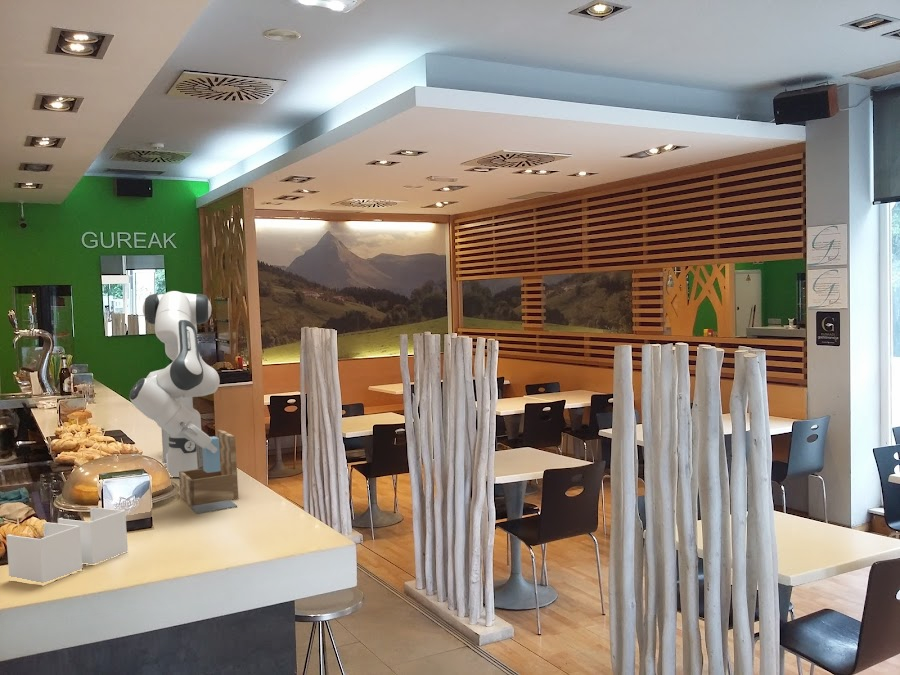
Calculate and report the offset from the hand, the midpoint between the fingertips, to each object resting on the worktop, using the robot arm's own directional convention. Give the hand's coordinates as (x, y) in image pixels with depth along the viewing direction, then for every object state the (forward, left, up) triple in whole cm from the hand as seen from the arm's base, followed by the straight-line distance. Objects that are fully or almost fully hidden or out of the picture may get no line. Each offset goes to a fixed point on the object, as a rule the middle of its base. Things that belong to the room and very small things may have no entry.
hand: (212, 449), depth 246 cm
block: (0, -1, -6) cm, 6 cm away
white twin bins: (+33, -43, -18) cm, 57 cm away
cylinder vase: (-89, +7, -18) cm, 91 cm away
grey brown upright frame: (-28, +6, -18) cm, 34 cm away
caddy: (-14, +1, -18) cm, 22 cm away
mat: (0, -1, -18) cm, 18 cm away
